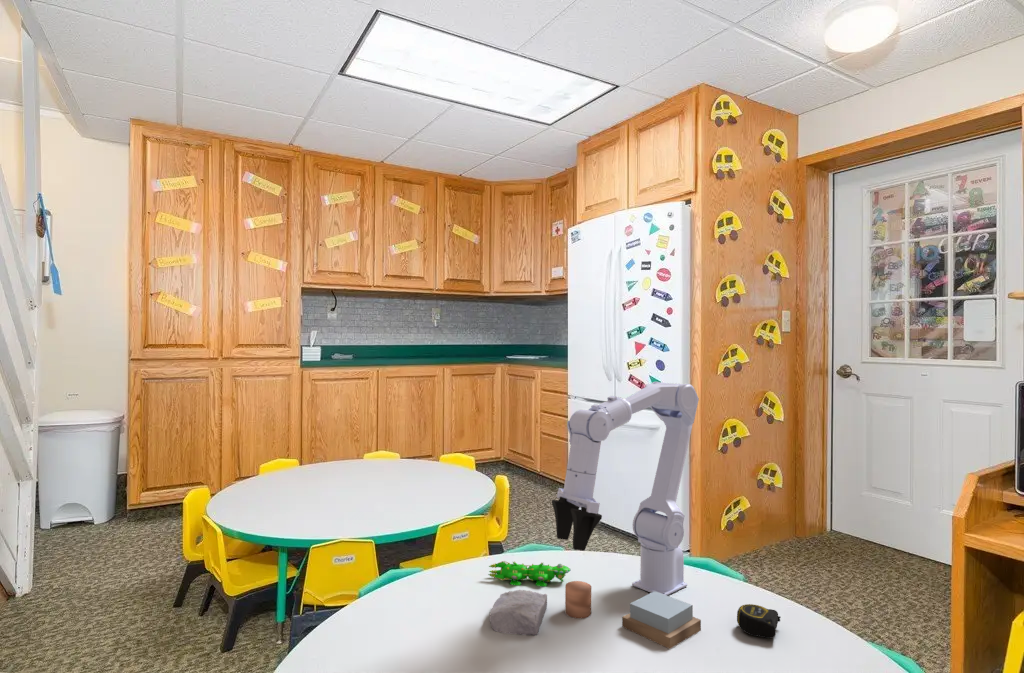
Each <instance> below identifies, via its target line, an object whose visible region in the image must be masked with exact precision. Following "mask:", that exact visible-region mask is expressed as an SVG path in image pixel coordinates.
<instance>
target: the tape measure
mask: <svg viewBox="0 0 1024 673" xmlns="http://www.w3.org/2000/svg"><path fill="white" fill-rule="evenodd" d="M736 614H737V615H736V621H737V624H738V627H739V629H740V630H742V632H743V631H744V633H747V634H749V635H751V636H753V637H754V636H755V637H762V638H766V639H767V638H769V639H773V638H775V637H776V631H777V628H778V623H779V622H781V616H780V615H779V613H778V611H777V610H776V609H771V608H770V609H768V608H766V607H764V606H763V605H762V606H761V605H759V604H758V605H757V604H753V603H749V604H747V603H746V604H742V605H740V606H739V607H738V609H737V612H736Z"/></svg>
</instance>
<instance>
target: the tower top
mask: <svg viewBox="0 0 1024 673" xmlns="http://www.w3.org/2000/svg"><path fill="white" fill-rule="evenodd" d="M693 608H694V607H693V604H692V603H688V602H686V601H683V600H680V599H678V598H674V597H672V596H670V595H664V594H661V593H659V592H656V591H654V592H652V593H650V592H649V593H648V594H645V595H644V596H642V597H640V598H639V599H636V600H634V601H632V602H630V603H629V613H630V617H631V618H633V619H635V620H638V621H640V622H642V623H645V624H647V625H649V626H652V627H654V628H656V629H659V630H661V631H663V632H666V633H668V634H669V633H670V632H672V631H674V630H675V629H677V628H679V627H680V626H682V625H684V624H685V623H687V622H688V621H690V620H692V619H693V617H694V615H693V614H694V613H693V612H694V611H693Z"/></svg>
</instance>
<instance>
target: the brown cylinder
mask: <svg viewBox="0 0 1024 673" xmlns="http://www.w3.org/2000/svg"><path fill="white" fill-rule="evenodd" d="M564 592H565V594H564V595H565V596H564V598H565V601H564V604H565V605H564V606H565V607H564V612H565V614H566V616H568V617H570V618H574V619H579V620H580V619H586V618H590V617H591V615H592V585H591V584H590V583H588V582H585V581H580V580H574V581H569V582H566V583H565V591H564Z"/></svg>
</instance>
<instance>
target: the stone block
mask: <svg viewBox="0 0 1024 673" xmlns="http://www.w3.org/2000/svg"><path fill="white" fill-rule="evenodd" d="M547 609H548V594H547V593H543V594H542V593H539V592H536V591H531V590H525V589H517V590H510V591H507V592H506V591H505V592H504V593H500V596H499V597H498V598H497V599H496V600H495V602H494V604H493V605H492V607H491V608H490V612H489V623H490V626H491V628H492V630H493V631H495V632H497V633H498V632H500V633H503V634H513V635H515V634H517V635H525V636H528V635H530V636H537V635H538V634H539V632H540V630H541V625H542V623H543V620H544V618H545V614H546V612H547Z"/></svg>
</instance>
